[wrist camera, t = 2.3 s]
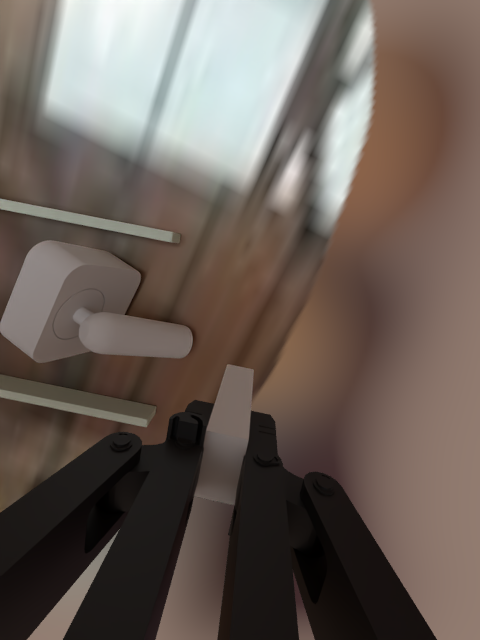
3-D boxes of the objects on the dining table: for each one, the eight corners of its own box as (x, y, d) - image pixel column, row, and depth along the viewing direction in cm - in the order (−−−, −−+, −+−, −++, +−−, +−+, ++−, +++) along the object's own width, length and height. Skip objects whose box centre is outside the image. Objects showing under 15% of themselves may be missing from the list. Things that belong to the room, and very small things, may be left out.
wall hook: (175, 383, 29) (102, 428, 19) (95, 325, 31) (-8, 340, 21) (216, 311, 27) (158, 321, 18) (129, 255, 29) (33, 236, 20)
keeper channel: (-37, 373, 31) (-68, 386, 28) (-40, 191, 27) (-76, 183, 24) (155, 413, 31) (144, 430, 28) (180, 234, 27) (171, 231, 24)
